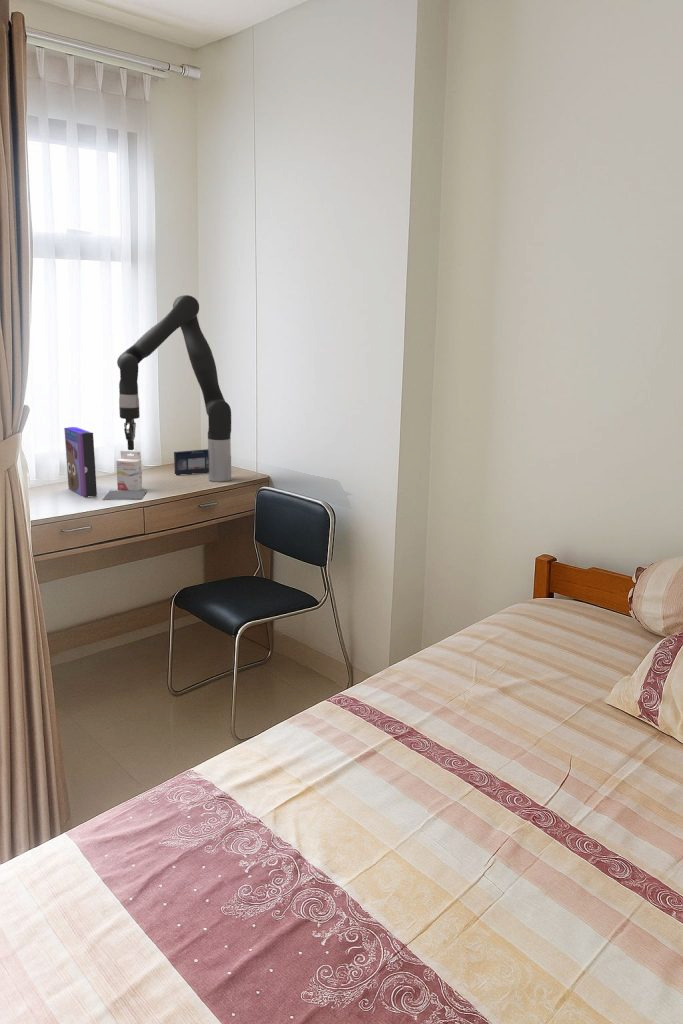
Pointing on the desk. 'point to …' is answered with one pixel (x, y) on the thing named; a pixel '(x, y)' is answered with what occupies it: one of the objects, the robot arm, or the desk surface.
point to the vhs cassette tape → (191, 462)
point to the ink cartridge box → (129, 471)
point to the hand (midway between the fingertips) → (131, 449)
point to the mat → (125, 494)
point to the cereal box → (80, 461)
